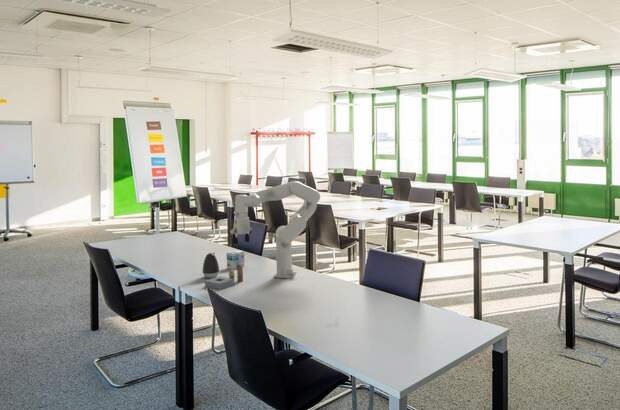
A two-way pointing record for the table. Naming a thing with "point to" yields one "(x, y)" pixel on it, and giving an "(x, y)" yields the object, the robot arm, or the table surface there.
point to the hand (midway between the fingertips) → (241, 242)
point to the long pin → (240, 272)
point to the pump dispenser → (210, 266)
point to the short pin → (231, 274)
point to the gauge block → (219, 283)
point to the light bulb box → (235, 259)
